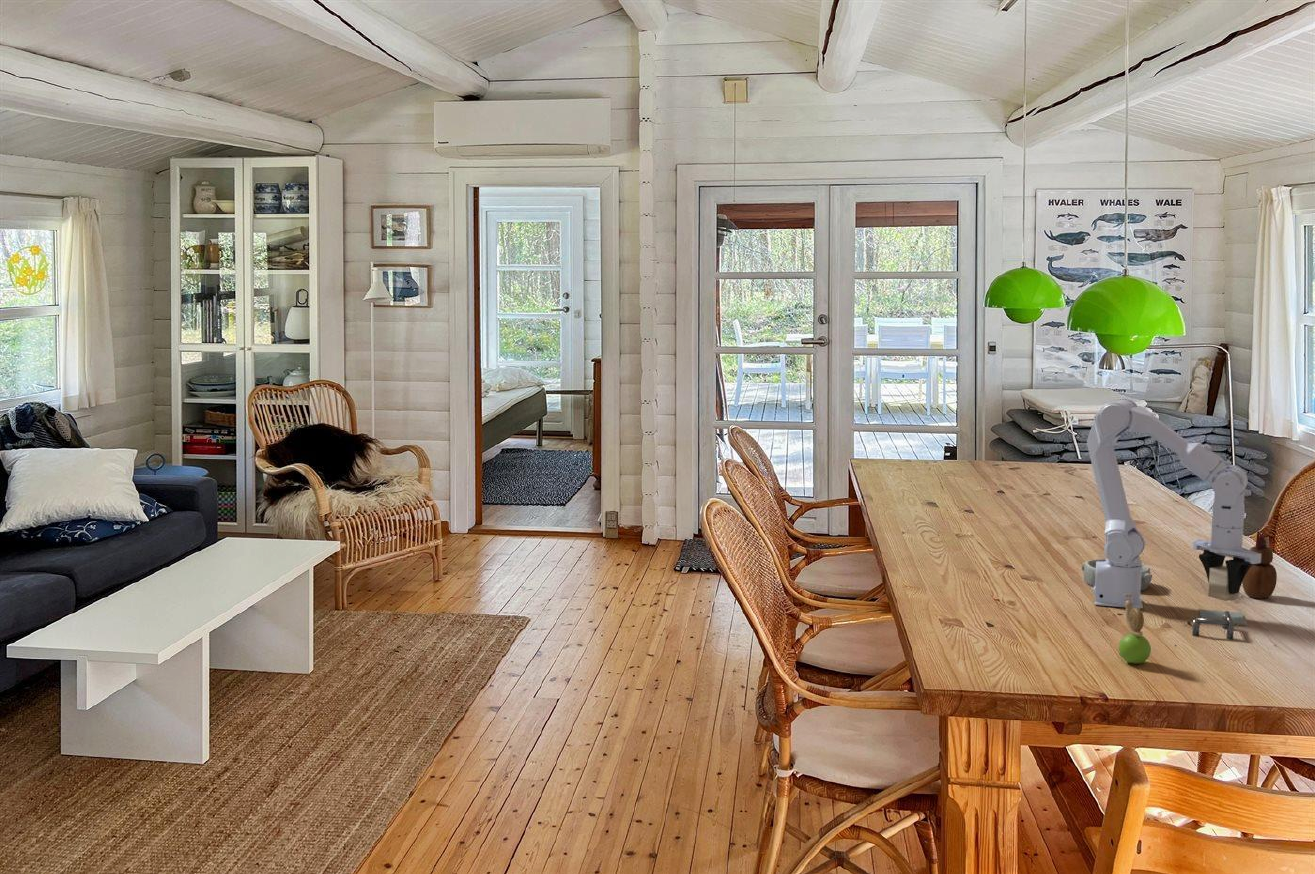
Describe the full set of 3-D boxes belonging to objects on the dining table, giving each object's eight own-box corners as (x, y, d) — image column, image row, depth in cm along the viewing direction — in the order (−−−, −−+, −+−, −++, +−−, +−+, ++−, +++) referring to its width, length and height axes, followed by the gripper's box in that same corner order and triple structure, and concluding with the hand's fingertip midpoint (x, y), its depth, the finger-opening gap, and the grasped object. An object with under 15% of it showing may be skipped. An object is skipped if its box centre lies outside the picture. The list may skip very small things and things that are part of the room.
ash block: (1225, 600, 225) (1226, 572, 224) (1208, 596, 229) (1209, 567, 228) (1238, 598, 227) (1240, 569, 226) (1222, 593, 230) (1223, 565, 229)
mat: (1202, 621, 226) (1202, 619, 226) (1198, 610, 233) (1199, 609, 233) (1246, 625, 223) (1246, 623, 223) (1241, 614, 230) (1241, 612, 230)
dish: (1159, 593, 248) (1160, 571, 247) (1096, 593, 248) (1097, 572, 247) (1133, 576, 262) (1134, 556, 261) (1074, 577, 262) (1075, 556, 262)
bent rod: (1192, 635, 217) (1193, 617, 217) (1189, 623, 225) (1190, 606, 224) (1233, 639, 214) (1234, 621, 214) (1228, 627, 222) (1229, 609, 222)
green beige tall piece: (1139, 655, 206) (1142, 593, 204) (1155, 667, 199) (1158, 602, 198) (1110, 656, 206) (1113, 593, 204) (1125, 668, 199) (1128, 603, 198)
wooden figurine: (1255, 601, 240) (1259, 533, 238) (1235, 594, 245) (1239, 528, 243) (1281, 598, 241) (1285, 531, 239) (1260, 592, 247) (1264, 526, 245)
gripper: (1183, 521, 231) (1180, 584, 232) (1245, 534, 217) (1241, 601, 219) (1207, 517, 233) (1204, 580, 235) (1270, 531, 220) (1266, 597, 222)
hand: (1223, 590), depth 227 cm, fingers closed on ash block, 4 cm apart
